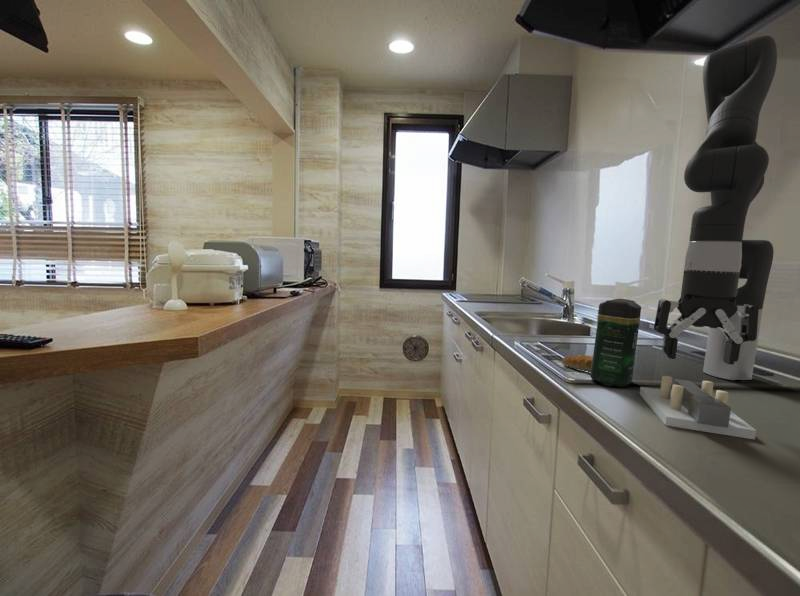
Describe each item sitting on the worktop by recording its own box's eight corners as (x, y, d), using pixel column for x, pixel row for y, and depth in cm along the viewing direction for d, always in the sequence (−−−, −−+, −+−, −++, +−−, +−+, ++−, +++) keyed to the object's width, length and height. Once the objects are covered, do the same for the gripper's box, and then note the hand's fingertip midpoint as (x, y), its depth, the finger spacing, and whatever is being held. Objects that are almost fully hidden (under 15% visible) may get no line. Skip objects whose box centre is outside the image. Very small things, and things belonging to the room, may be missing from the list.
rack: (639, 393, 79) (642, 367, 79) (709, 403, 76) (713, 376, 75) (665, 425, 64) (669, 393, 63) (754, 439, 60) (760, 405, 60)
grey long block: (667, 394, 75) (670, 378, 75) (692, 397, 74) (694, 381, 74) (697, 423, 62) (700, 403, 62) (728, 427, 61) (731, 408, 60)
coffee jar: (626, 391, 81) (637, 302, 79) (586, 381, 86) (595, 298, 84) (635, 381, 88) (645, 299, 86) (597, 372, 93) (606, 295, 91)
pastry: (557, 367, 97) (558, 352, 97) (567, 362, 102) (568, 348, 102) (597, 376, 91) (599, 360, 90) (606, 371, 96) (607, 356, 95)
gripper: (750, 269, 68) (737, 360, 70) (656, 266, 72) (646, 351, 74) (776, 271, 61) (760, 371, 63) (670, 267, 65) (659, 361, 67)
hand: (698, 360), depth 69 cm, fingers open, 8 cm apart
